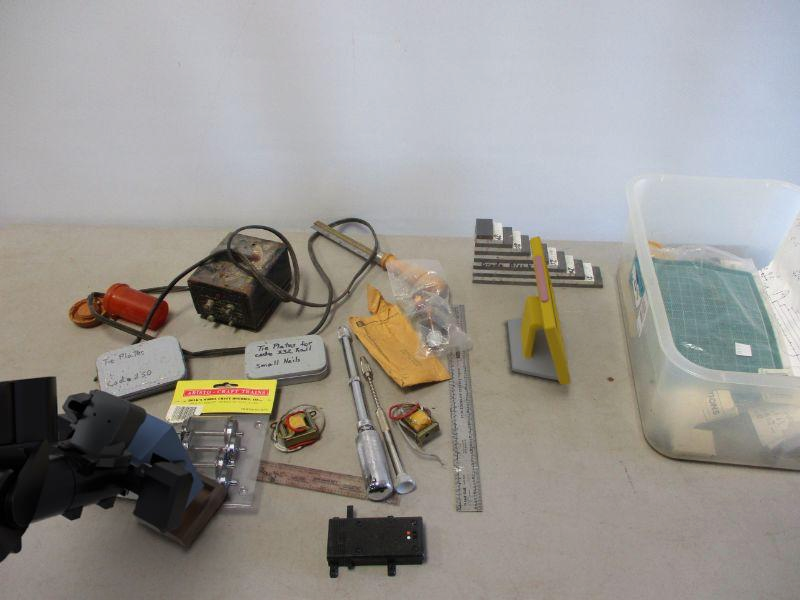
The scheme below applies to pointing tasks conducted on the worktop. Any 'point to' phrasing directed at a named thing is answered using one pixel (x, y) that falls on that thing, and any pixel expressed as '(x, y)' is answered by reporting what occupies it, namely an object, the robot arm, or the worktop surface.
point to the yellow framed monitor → (539, 329)
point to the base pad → (198, 511)
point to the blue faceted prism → (162, 448)
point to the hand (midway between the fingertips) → (167, 456)
